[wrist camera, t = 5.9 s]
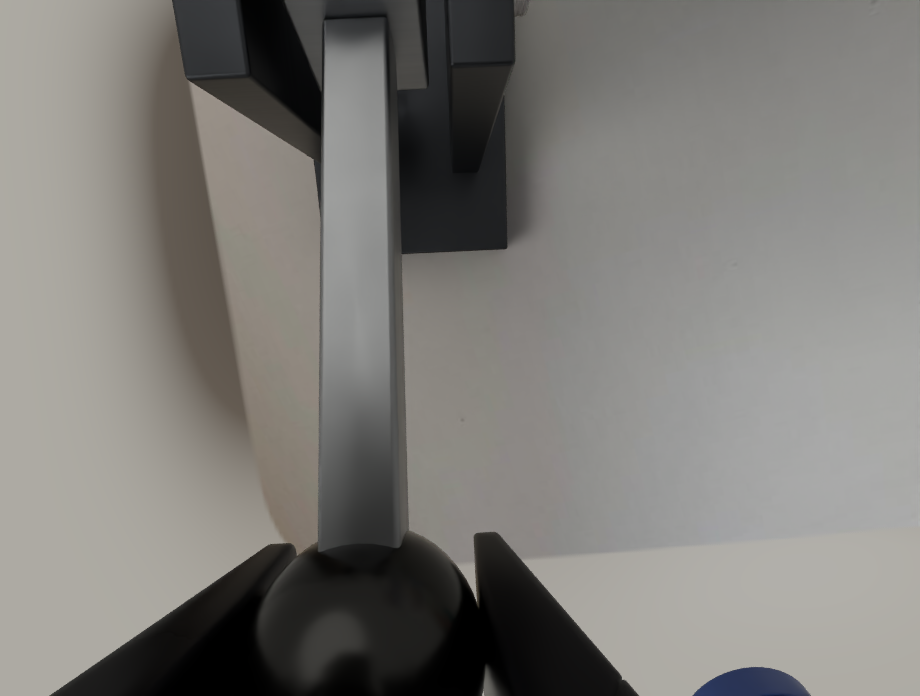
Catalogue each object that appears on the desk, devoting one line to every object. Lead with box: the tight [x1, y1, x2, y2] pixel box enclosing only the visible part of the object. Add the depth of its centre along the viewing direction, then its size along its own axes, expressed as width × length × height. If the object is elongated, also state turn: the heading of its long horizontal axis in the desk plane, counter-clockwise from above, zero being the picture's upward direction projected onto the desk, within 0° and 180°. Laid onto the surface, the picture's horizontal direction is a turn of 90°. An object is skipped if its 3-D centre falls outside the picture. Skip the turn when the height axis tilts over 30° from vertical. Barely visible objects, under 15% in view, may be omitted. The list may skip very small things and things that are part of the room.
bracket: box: [172, 0, 530, 254], centre depth 11 cm, size 10×7×11 cm
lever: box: [234, 0, 486, 696], centre depth 7 cm, size 14×3×3 cm, turn 2°
